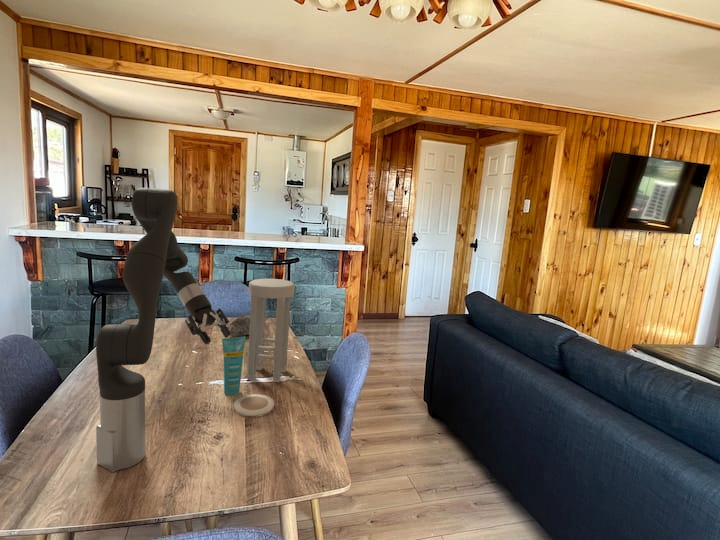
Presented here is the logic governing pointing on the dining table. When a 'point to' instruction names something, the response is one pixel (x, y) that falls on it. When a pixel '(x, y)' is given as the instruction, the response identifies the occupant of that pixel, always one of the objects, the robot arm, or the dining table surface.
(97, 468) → the dining table surface
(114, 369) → the robot arm
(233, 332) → the mineral rock
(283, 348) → the stool
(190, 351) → the dining table surface
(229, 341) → the tube
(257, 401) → the coaster
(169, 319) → the dining table surface
